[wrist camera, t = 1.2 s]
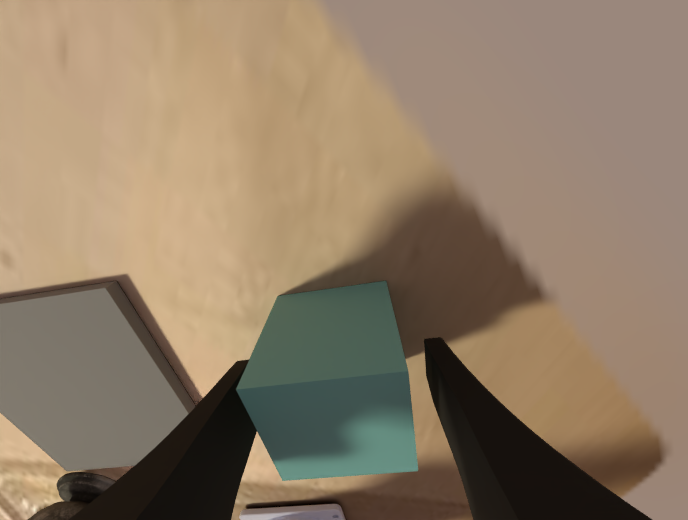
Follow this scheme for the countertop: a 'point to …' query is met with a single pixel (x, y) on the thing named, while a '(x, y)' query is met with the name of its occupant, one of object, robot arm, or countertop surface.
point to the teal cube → (332, 385)
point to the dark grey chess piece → (74, 495)
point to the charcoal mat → (86, 377)
